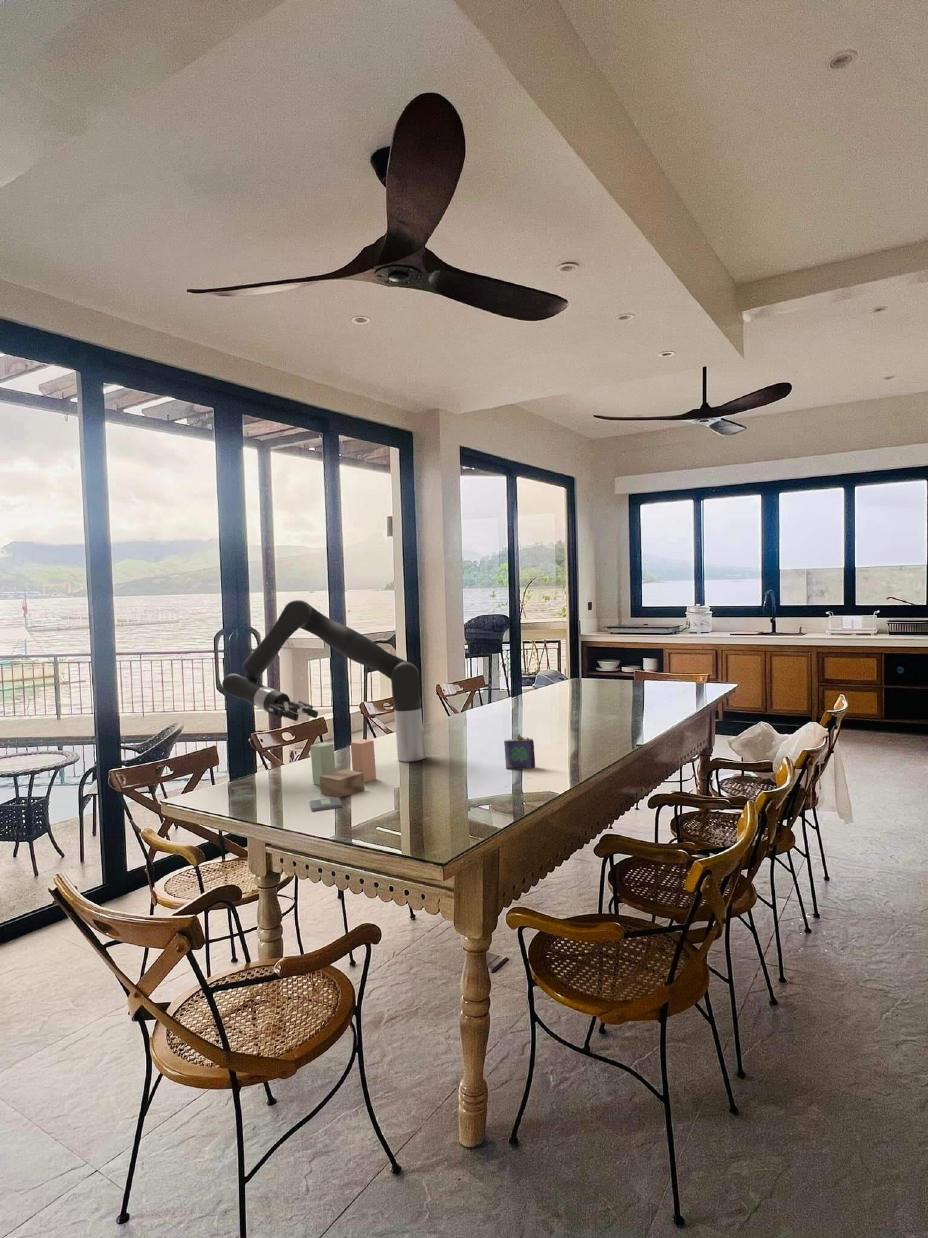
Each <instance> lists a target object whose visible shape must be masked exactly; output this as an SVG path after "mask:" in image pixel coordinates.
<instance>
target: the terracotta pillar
mask: <svg viewBox="0 0 928 1238" xmlns="http://www.w3.org/2000/svg"><path fill="white" fill-rule="evenodd" d="M350 752H351V765H352V767H351V768H352V771H356V772H361V773H363V777H364V784H365V783H369V782H372V781H374V780H377V770H376V759H375V742H374V740H371V739H364V738H363V739H358V740H355V741H351V742H350Z"/></svg>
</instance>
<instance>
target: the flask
mask: <svg viewBox="0 0 928 1238" xmlns="http://www.w3.org/2000/svg"><path fill="white" fill-rule="evenodd" d="M515 737H516V738H515V739H505V740H504V742H503V743H504V757H505V758H504V759H505V760H504V761H505V769H506V770H523V769H536V757H535V742H534V740H533V738H529V737H526V738H525V737H523V736H521V733H520V732H519V733H516V735H515Z"/></svg>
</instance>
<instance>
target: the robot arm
mask: <svg viewBox="0 0 928 1238" xmlns="http://www.w3.org/2000/svg"><path fill="white" fill-rule="evenodd" d="M299 629H302V630H304V631H306V632H308V633H310V634H313V635H315V636H316V637H318V639H321V640H322V641H323V642H324V643H326V644H327V645H328V646H329V647H330V648H332V649H333V650H335V651H336V652H337V653H339V654H340V655H342V656H344V657H345V658H348V659H350V660H351V661H353V662H355V663H358V664H360V665H362V666H365V667H368V668H371V669H373V670H375V671H377V672H379V673H380V674H383V675H384V676H385V677H386V678H388V679H390V680H391V689H392V700H393V709H394V723H395V724H394V725H395V739H396V748H397V749H396V751H397V753H396V755H397V760H398V761H399V762H407V763H408V762H416V761H421V760H423V759H427V752H426V748H427V747H426V738H425V737H426V736H425V735H426V734H425V731H424V729H423V728H424V727H423V716H422V700H421V699H422V698H421V688H420V687H421V685H420V673H419V670H418V668H417V666H416V665H415V664H414V663H412V662H409V661H407V660H404V659H402V658H400V657H398V656H396V655H394V654H391V653H390V652H389V651H388V650H385V649H383V647H381V646H380V645H379V644H377V643H375V642H374V641H373V640H371V639H369V638H367V637H366V636H365V635H363V634H362V633H360V632H358V631H356V630H354V629H353V628H351V627H349V626H347V625H344V624H342V623H340V622H338V621H335V620H333V619H331V618H329V617H327V616H325V614H323V613H321V612H320V611H318V610H317V609H316V608H314V607H313V606H311V604H310V603H308V602H307V601H304V600H303V599H302V600H301V599H294V600H290V601H289V602H287V604H286V605H285V606H284V608H283V610H282V612H281V614H280V616H279V617H278V619H277V621H276V622H275V623H274V625H273V626H272V628H271V630H269V632H268V633H267V634H266V635H265V637H264V638H263V639H262V641H260V643H259V644H258V645H257V646H256V647H255V648H254V649H253V651H252V652H251V653H250V654H249V655H248V657H247V658H246V659H245V661H244V662H243V664H242V667H243V669H244V670H245V671H246V672H245V675H244V676H242V675H240V674H239V673H229V674H227V675H226V676H225V677H224V678H223V680H222V682H221V685H222V686H221V687H222V689H223V691H224V692H225V693H226V694H228V695H230V696H233V697H235V698H237V699H240V700H244V701H245V702H247V703H249V704H251V705H252V706H255V707H257V708H259V709H260V710H262V711H264V712H266V713H269V714H270V715H273V716H274V717H276V718H279V719H282V718H285V719H288V720H289V719H290V720H292V721H294V722H298V721H299V716H301V715H306V716H309V717H311V718H313V719H317V718H318V715H319V712H318V710H315V709H314V706H313V705H311V704H309V703H307V702H304V701H301V700H298V702H295V700H291V699H290V697H289V696H288V694H286V693H284V692H282V691H279V690H278V689H276V688H271V687H269V686H266V685H263V684H260V683H259V681H260V679H261V676H262V674H264V673H265V671H266V670H267V669H268V667H269V666H270V664H272V662H273V661H274V660H275V658H276V657H277V655H278V653H280V650H281V649H282V648H283V646H284V645H285V643H286V642H287V641H288V639H289V638H290V637H291V636H293V634H294V633H296V632H297V630H299Z"/></svg>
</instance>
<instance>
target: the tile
mask: <svg viewBox="0 0 928 1238" xmlns="http://www.w3.org/2000/svg"><path fill="white" fill-rule="evenodd" d="M340 798H341V797H335V796H332V797H329V798H328V797H326V798H320V799H313V800H309V804H310V809H311V812H317V811H324V810H325V811H326V810H330V809H338V808H343V803H342V800H341V799H340Z"/></svg>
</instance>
